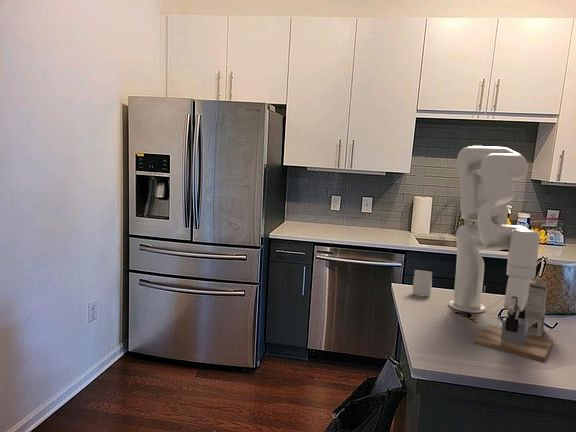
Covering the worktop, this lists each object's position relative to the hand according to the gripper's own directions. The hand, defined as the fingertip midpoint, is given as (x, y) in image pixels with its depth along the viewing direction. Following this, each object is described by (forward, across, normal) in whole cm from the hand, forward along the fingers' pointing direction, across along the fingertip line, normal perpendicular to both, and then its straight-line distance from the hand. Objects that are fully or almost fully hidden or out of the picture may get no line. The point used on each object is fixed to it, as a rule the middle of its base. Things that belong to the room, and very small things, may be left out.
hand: (514, 326), depth 128 cm
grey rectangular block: (+6, -29, -40) cm, 49 cm away
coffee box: (+6, -16, +2) cm, 17 cm away
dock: (+5, 0, 0) cm, 5 cm away
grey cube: (+4, 0, 0) cm, 4 cm away
